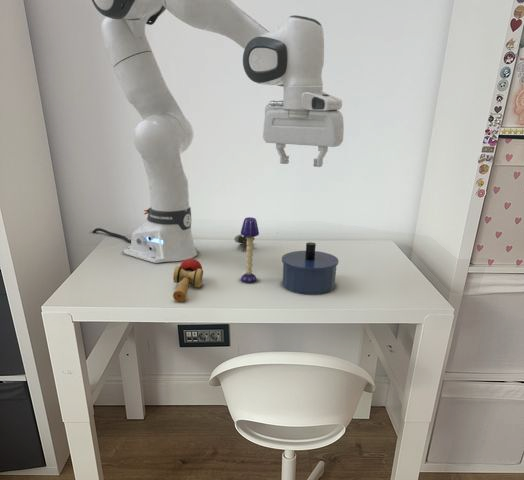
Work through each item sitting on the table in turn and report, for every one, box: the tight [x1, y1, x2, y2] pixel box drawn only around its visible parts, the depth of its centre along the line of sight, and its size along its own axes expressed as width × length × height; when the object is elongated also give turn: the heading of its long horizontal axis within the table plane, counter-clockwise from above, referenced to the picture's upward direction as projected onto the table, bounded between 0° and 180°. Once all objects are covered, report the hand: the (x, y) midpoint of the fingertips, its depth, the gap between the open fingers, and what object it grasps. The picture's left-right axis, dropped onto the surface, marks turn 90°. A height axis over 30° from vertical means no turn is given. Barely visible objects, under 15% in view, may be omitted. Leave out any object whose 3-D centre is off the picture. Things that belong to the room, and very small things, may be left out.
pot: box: [282, 262, 337, 295], centre depth 130 cm, size 14×14×6 cm
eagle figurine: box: [234, 233, 255, 252], centre depth 159 cm, size 8×7×9 cm
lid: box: [281, 241, 340, 270], centre depth 128 cm, size 15×15×5 cm
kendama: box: [172, 258, 204, 303], centre depth 126 cm, size 8×6×18 cm
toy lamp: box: [240, 216, 260, 284], centre depth 130 cm, size 5×5×17 cm
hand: (300, 165), depth 120 cm, fingers open, 8 cm apart
